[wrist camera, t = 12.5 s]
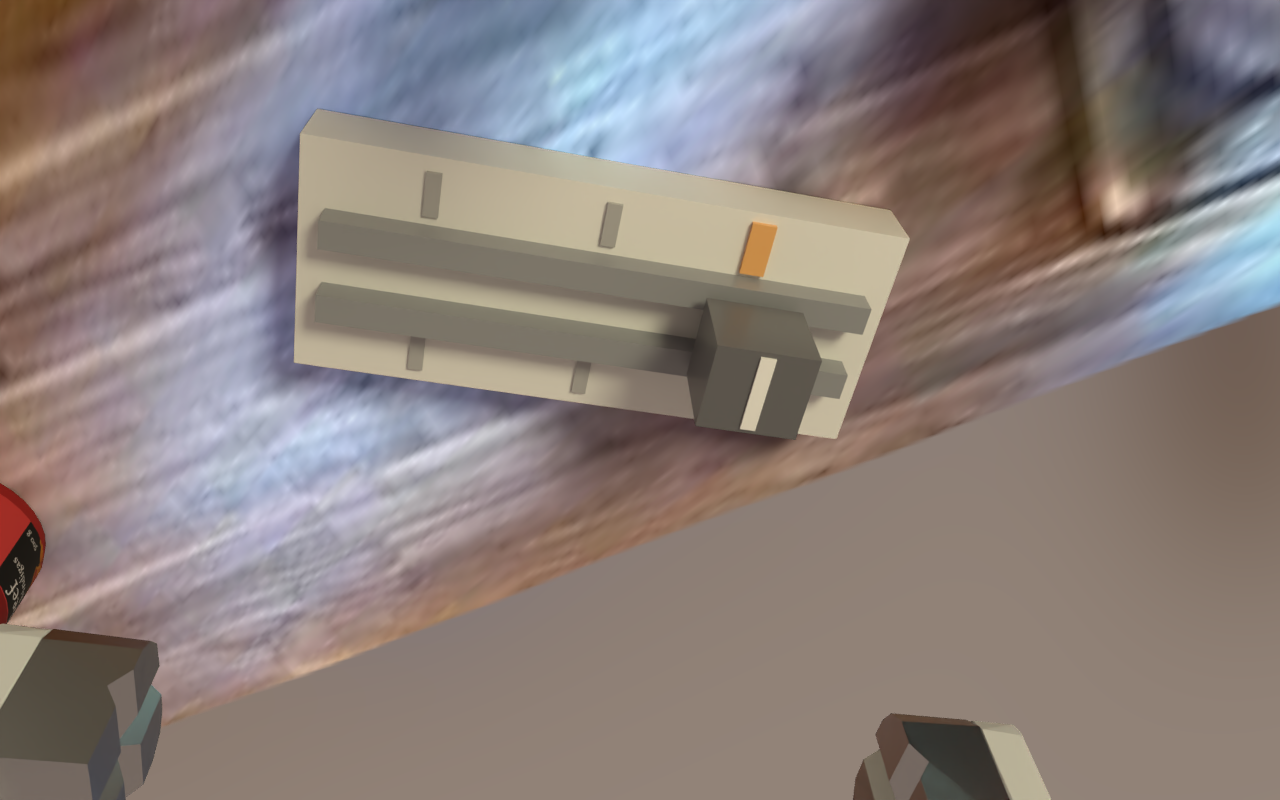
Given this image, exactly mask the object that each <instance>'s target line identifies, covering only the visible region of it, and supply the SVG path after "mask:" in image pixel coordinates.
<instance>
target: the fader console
mask: <svg viewBox="0 0 1280 800" xmlns="http://www.w3.org/2000/svg"><path fill="white" fill-rule="evenodd" d="M908 242H909V237H908V236H907V234H906V233H905V231H904V229H903V228H902V226H901V225H900V223H899V222H898V220H897V219H896V217H895V216H894V214H893V213H892V211H891V210H886V209H881V208H875V207H869V206H864V205H858V204H852V203H847V202H841V201H836V200H830V199H824V198H819V197H813V196H807V195H802V194H796V193H790V192H785V191H779V190H773V189H768V188H762V187H756V186H751V185H745V184H740V183H734V182H728V181H723V180H717V179H711V178H706V177H700V176H694V175H689V174H683V173H677V172H672V171H666V170H661V169H655V168H649V167H644V166H638V165H632V164H627V163H621V162H615V161H610V160H604V159H598V158H593V157H587V156H581V155H576V154H570V153H565V152H559V151H553V150H548V149H542V148H536V147H531V146H525V145H519V144H514V143H508V142H502V141H497V140H491V139H486V138H480V137H474V136H469V135H463V134H457V133H452V132H446V131H440V130H435V129H429V128H423V127H418V126H412V125H407V124H401V123H395V122H390V121H384V120H378V119H373V118H367V117H361V116H356V115H350V114H344V113H339V112H333V111H327V110H322V109H317V110H316V111H315V113H314V114H313V115H312V117H311V118H310V120H309V121H308V123H307V124H306V125H305V127H304V128H303V130H302V131H301V133H300V155H299V192H298V229H297V266H296V303H295V340H294V363H300V364H307V365H314V366H321V367H328V368H335V369H342V370H349V371H357V372H364V373H371V374H378V375H385V376H392V377H399V378H406V379H413V380H421V381H428V382H435V383H442V384H449V385H456V386H463V387H470V388H477V389H484V390H492V391H499V392H506V393H513V394H520V395H527V396H534V397H541V398H548V399H556V400H563V401H570V402H577V403H584V404H591V405H598V406H605V407H612V408H619V409H627V410H634V411H641V412H648V413H655V414H662V415H669V416H676V417H683V418H690V419H694V415H693V409H692V403H691V397H690V392H689V386H688V380H687V371H688V367H689V363H690V359H691V355H692V352H693V348H694V344H695V340H696V336H697V333H698V329H699V325H700V321H701V317H702V314H703V310H704V306H705V302H706V298H712V299H718V300H725V301H731V302H737V303H743V304H750V305H756V306H762V307H768V308H775V309H781V310H787V311H794V312H800V313H803V314H804V316H805V319H806V321H807V324H808V326H809V329H810V331H811V334H812V337H813V339H814V342H815V344H816V347H817V349H818V352H819V354H820V357H821V359H822V363H821V366H820V369H819V372H818V375H817V378H816V381H815V384H814V387H813V390H812V392H811V395H810V398H809V401H808V404H807V407H806V410H805V413H804V416H803V419H802V422H801V425H800V428H799V431H798V433H797V434H804V435H811V436H818V437H825V438H833V439H836V438H837V436H838V433H839V430H840V428H841V425H842V422H843V419H844V417H845V414H846V411H847V408H848V406H849V403H850V400H851V398H852V395H853V392H854V389H855V387H856V384H857V381H858V378H859V376H860V373H861V370H862V368H863V365H864V362H865V359H866V357H867V354H868V351H869V349H870V346H871V343H872V340H873V338H874V335H875V332H876V329H877V327H878V324H879V321H880V319H881V316H882V313H883V310H884V308H885V305H886V302H887V299H888V297H889V294H890V291H891V289H892V286H893V283H894V280H895V278H896V275H897V272H898V269H899V267H900V264H901V261H902V259H903V256H904V253H905V250H906V248H907V245H908Z"/></svg>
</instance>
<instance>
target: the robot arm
mask: <svg viewBox="0 0 1280 800" xmlns="http://www.w3.org/2000/svg"><path fill="white" fill-rule="evenodd" d="M158 668H159V657H158V648H157V643H154V642H152V641H146V640H138V639H130V638H122V637H114V636H106V635H98V634H89V633H81V632H73V631H65V630H57V629H53V630H52V629H44V628H35V627H27V626H18V625H10V624H0V800H126V799H125V798H126V797H127V796H128V795H130V794H131V793H132V792H134V791H135V790H136V789H138V788H139V787H140V786H142V785H143V784H144V781H145V779H146V776H147V774H148V771H149V769H150V766H151V764H152V761H153V758H154V754H155V750H156V746H157V742H158V738H159V735H160V729H161V718H162V697H161V694H160V693H159V692H158V691H157V690H156V689H155V688H154V687H153V686H152V685H151V684H152V681H153V679H154V677H155V675H156V672H157V670H158ZM876 737H877V741H878V744H879V748H880V749H879V750H878V751H876V752H875V753H873V754H872V755H870V756H868V757H867V758H865V759H864V760H863V762H862V764H861V767H860V769H859V771H858V774H857V777H856V779H855V787H854V796H853V800H1051V798H1050V796H1049V793H1048V791H1047V789H1046V787H1045V785H1044V783H1043V780H1042V778H1041V776H1040V774H1039V771H1038V769H1037V767H1036V765H1035V763H1034V760H1033V758H1032V756H1031V754H1030V752H1029V749H1028V747H1027V745H1026V743H1025V741H1024V739H1023V737H1022V734H1021V732H1019V730H1017V729H1016V728H1015V727H1014V726H1013V725H1010V724H1000V723H990V722H979V721H968V720H962V719H950V718H938V717H928V716H916V715H905V714H892V713H891V714H890V715H888V716H887V717H886V718H884V719H883V721H882V722H881V724H880V726H879V728H878V730H877V732H876Z"/></svg>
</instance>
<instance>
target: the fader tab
mask: <svg viewBox="0 0 1280 800" xmlns="http://www.w3.org/2000/svg"><path fill="white" fill-rule="evenodd" d="M821 363H822V359H821V357H820V354H819V352H818V349H817V347H816V344H815V342H814V339H813V337H812V334H811V331H810V329H809V326H808V324H807V321H806V319H805V316H804V314H803V313H800V312H794V311H787V310H781V309H775V308H768V307H762V306H756V305H750V304H743V303H737V302H731V301H725V300H718V299H712V298H706V302H705V306H704V310H703V314H702V317H701V321H700V325H699V329H698V333H697V336H696V340H695V344H694V348H693V352H692V355H691V359H690V363H689V367H688V371H687V380H688V386H689V392H690V397H691V403H692V409H693V415H694V421H695V426H700V427H707V428H714V429H721V430H728V431H736V432H743V433H750V434H757V435H764V436H771V437H778V438H786V439H793V440H795V439H796V436H797V433H798V431H799V428H800V425H801V422H802V419H803V416H804V413H805V410H806V407H807V404H808V401H809V398H810V395H811V392H812V390H813V387H814V384H815V381H816V378H817V375H818V372H819V369H820V366H821Z"/></svg>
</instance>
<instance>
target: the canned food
mask: <svg viewBox="0 0 1280 800" xmlns="http://www.w3.org/2000/svg"><path fill="white" fill-rule="evenodd" d="M45 546H46V543H45V534H44V531H43V528H42V526H41V523H40V521H39V520H38V518H37V516H36V515H35V513H34V511H33V510H32V509H31V508H30V507H29V506H28V505H27V504H26V502H25V501H24V500H23V499H21V498H20V497H19V496H18V495H17V494H15V493H14V492H13V491H12V490H10V489H9V488H7V487H5V486H4V485H2V484H1V483H0V624H7V623H8V621H9V620H10V618H11V617H12V615H13V613H14V612H15V610H16V609H17V607H18V606H19V604H20V602H21V601H22V599H23V598H24V596H25V594H26V593H27V591H28V590H29V588H30V587H31V585H32V583H33V582H34V580H35V579H36V577H37V575H38V573H39V572H40V570H41V568H42V563H43V558H44V552H45Z"/></svg>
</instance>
